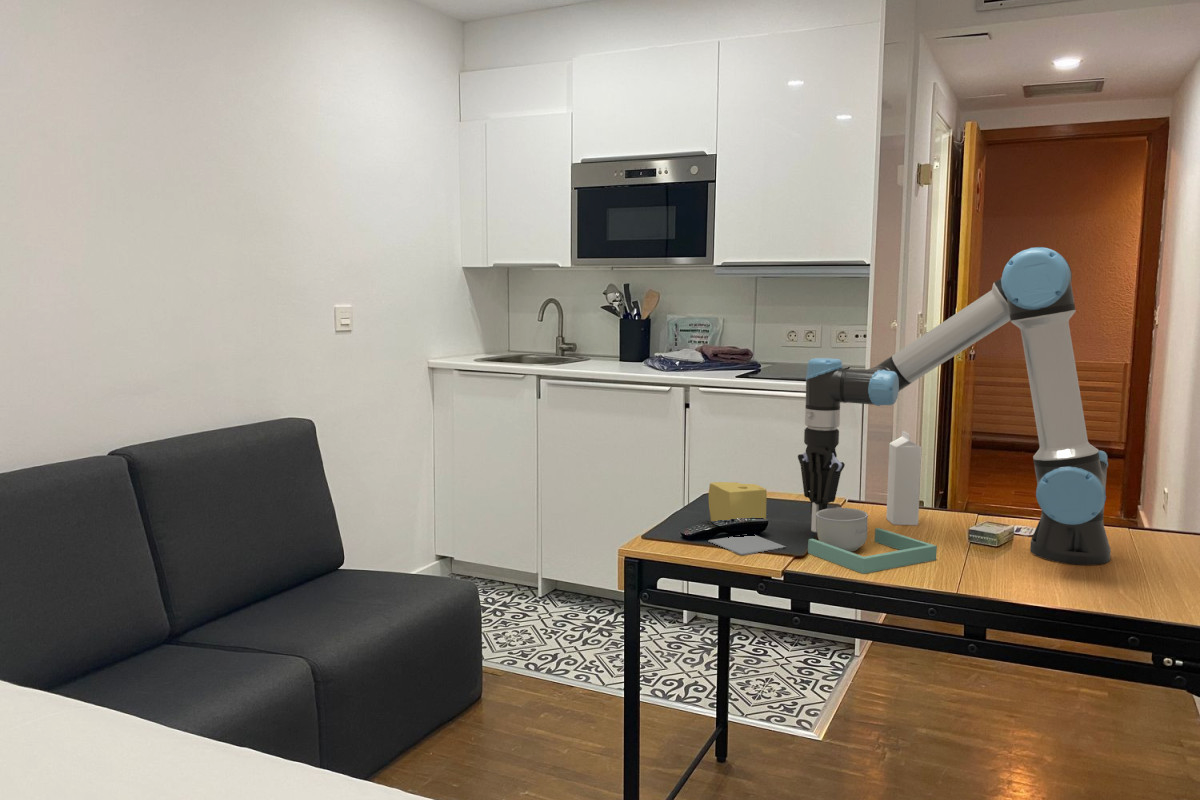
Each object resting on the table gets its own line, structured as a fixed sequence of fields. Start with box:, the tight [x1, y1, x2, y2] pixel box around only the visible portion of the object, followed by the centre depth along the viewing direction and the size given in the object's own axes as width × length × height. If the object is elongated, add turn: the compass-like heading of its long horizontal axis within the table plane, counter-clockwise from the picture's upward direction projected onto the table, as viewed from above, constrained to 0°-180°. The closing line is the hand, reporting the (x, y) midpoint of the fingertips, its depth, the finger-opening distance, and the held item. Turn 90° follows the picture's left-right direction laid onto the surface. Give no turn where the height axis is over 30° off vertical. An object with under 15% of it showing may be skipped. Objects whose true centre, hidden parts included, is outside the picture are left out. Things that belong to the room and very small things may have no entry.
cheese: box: [708, 481, 768, 522], centre depth 217 cm, size 10×11×10 cm
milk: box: [886, 430, 923, 526], centre depth 221 cm, size 6×6×22 cm
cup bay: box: [807, 527, 938, 575], centre depth 193 cm, size 16×20×3 cm
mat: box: [707, 534, 787, 556], centre depth 201 cm, size 12×12×1 cm
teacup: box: [816, 506, 869, 552], centre depth 200 cm, size 14×11×8 cm
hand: (818, 530), depth 208 cm, fingers closed
